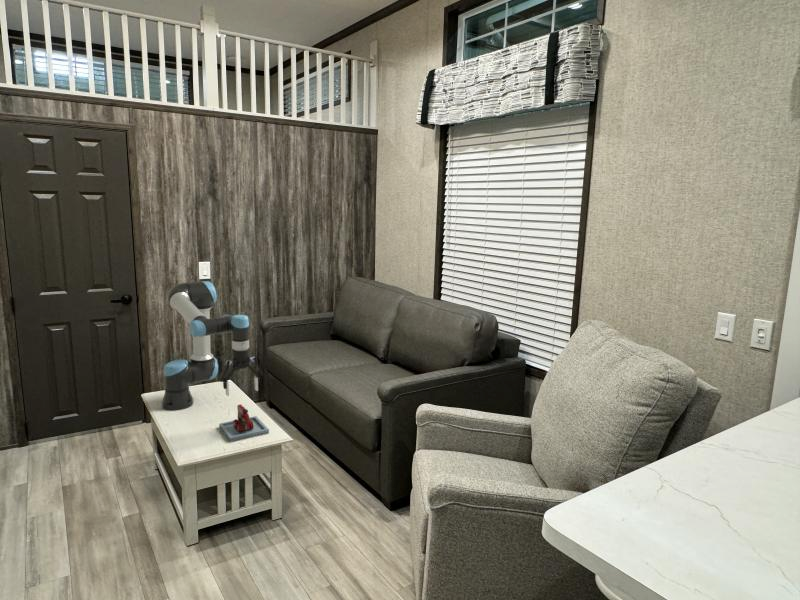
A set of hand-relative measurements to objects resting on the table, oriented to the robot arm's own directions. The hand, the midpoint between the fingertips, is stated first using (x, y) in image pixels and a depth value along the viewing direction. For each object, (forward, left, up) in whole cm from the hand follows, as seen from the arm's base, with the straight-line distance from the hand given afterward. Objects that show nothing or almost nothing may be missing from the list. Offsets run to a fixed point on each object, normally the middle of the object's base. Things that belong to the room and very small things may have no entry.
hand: (242, 392), depth 250 cm
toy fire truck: (0, 0, -18) cm, 18 cm away
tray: (0, 0, -19) cm, 19 cm away
